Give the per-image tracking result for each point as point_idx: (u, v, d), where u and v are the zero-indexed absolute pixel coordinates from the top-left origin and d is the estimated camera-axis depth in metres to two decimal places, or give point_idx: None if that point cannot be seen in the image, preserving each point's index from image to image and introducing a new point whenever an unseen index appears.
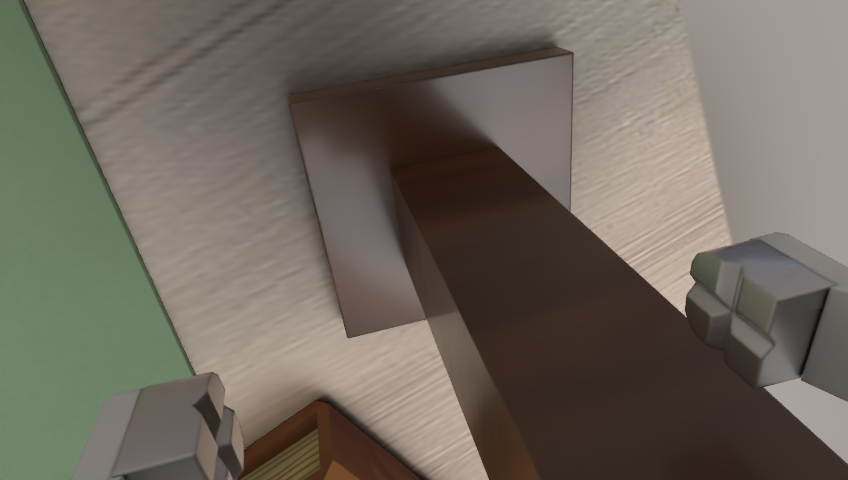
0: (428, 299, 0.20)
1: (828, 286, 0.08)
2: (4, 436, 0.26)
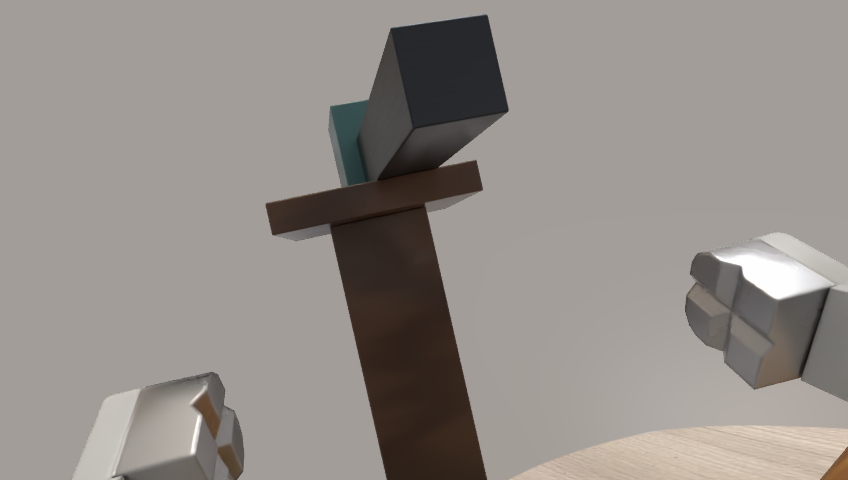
0: None
1: (828, 286, 0.08)
2: None
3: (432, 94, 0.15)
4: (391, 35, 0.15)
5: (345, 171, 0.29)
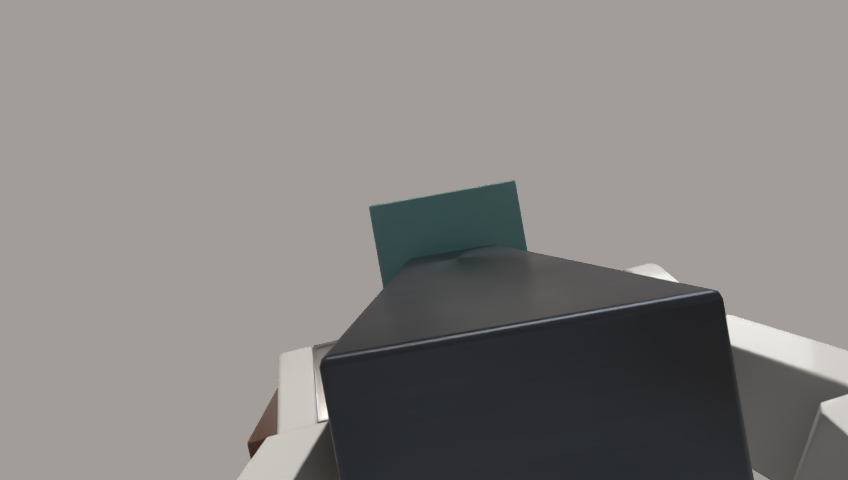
0: None
1: None
2: None
3: None
4: (323, 386, 0.04)
5: None
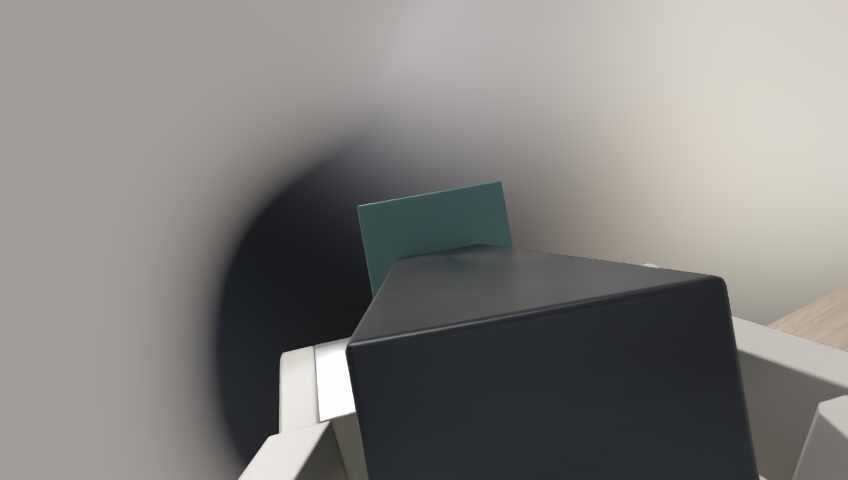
0: None
1: None
2: None
3: None
4: (348, 372, 0.04)
5: None
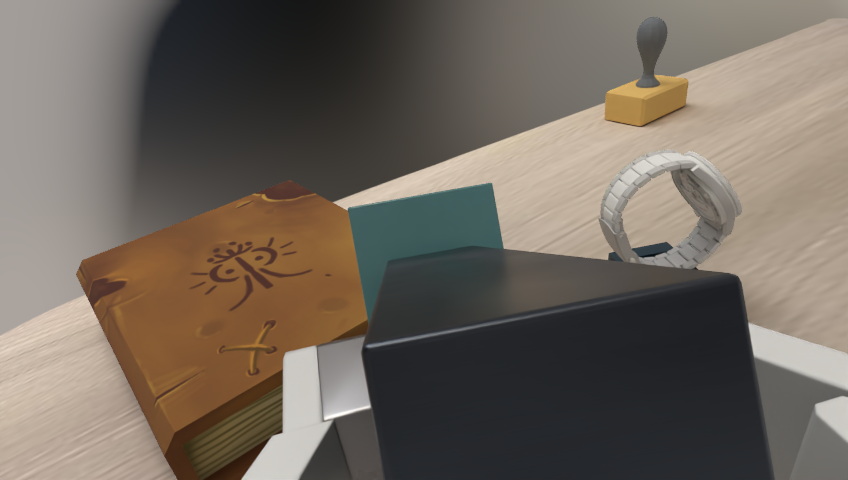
0: None
1: None
2: None
3: None
4: None
5: (367, 313, 0.18)
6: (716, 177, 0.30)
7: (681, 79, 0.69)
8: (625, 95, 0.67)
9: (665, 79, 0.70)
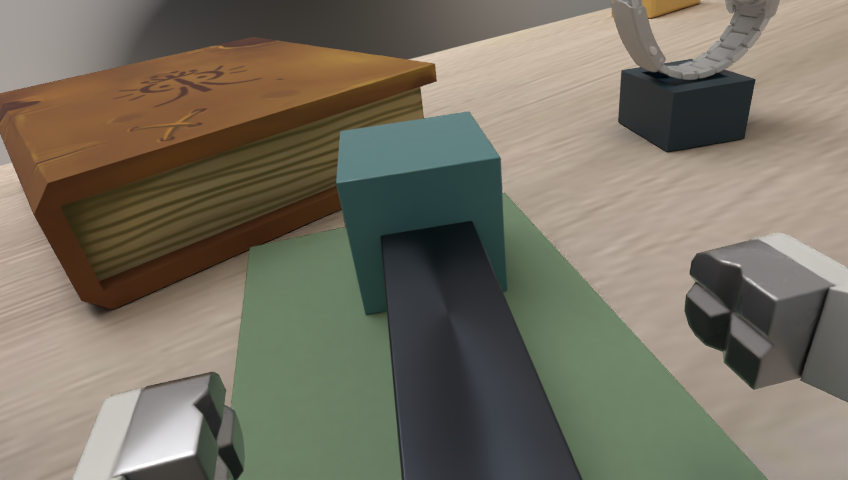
0: None
1: (828, 286, 0.08)
2: None
3: None
4: None
5: (359, 281, 0.18)
6: None
7: None
8: None
9: None
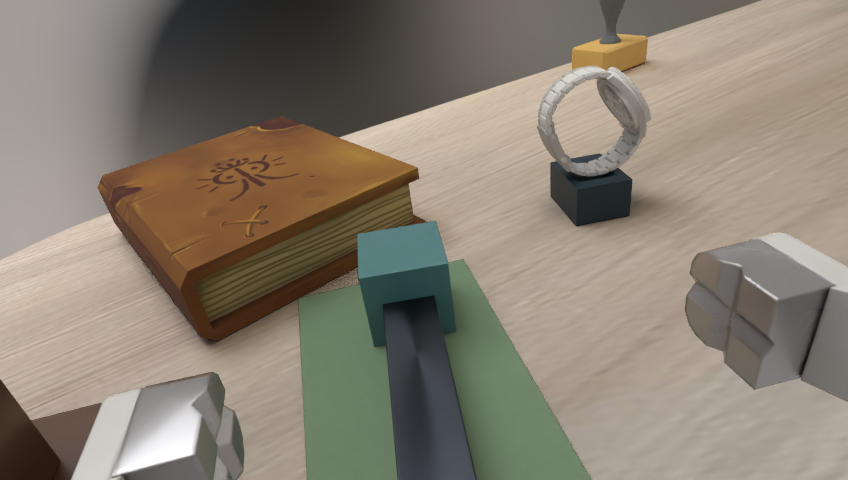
0: None
1: (828, 286, 0.08)
2: None
3: None
4: None
5: (370, 328, 0.31)
6: (628, 84, 0.37)
7: (641, 36, 0.75)
8: (588, 50, 0.73)
9: (627, 37, 0.76)
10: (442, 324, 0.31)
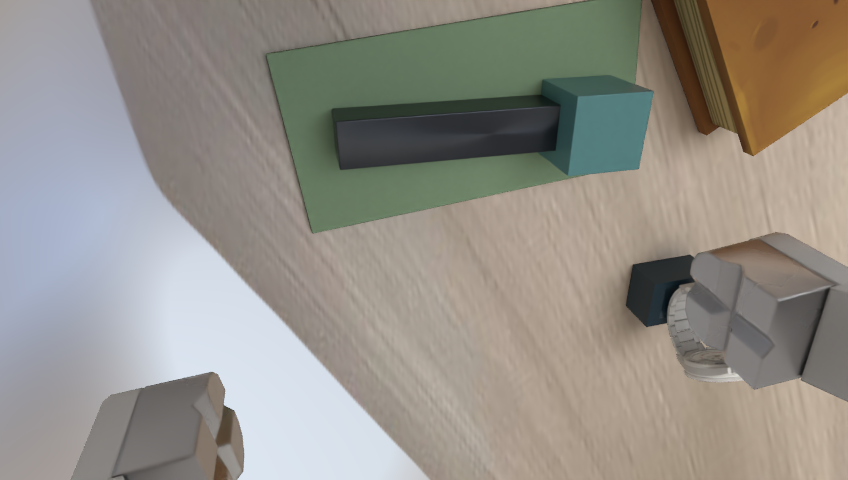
0: None
1: (828, 286, 0.08)
2: None
3: (333, 124, 0.33)
4: (336, 120, 0.31)
5: (552, 84, 0.34)
6: (715, 377, 0.39)
7: None
8: None
9: None
10: None
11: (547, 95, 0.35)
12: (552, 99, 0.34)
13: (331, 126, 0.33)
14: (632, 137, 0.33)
